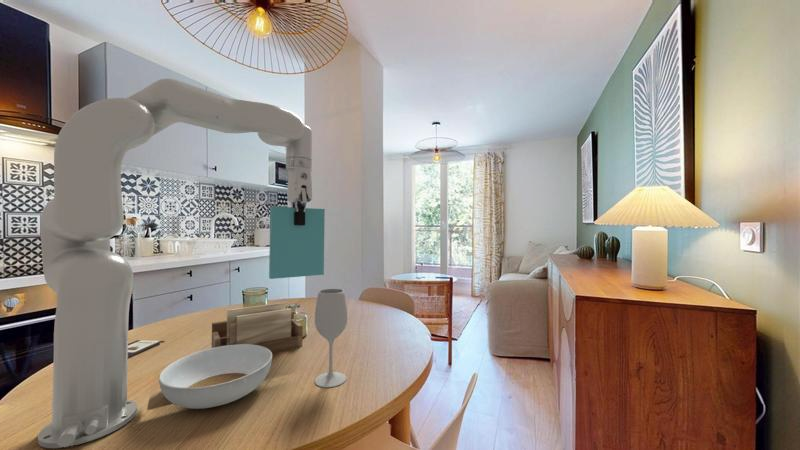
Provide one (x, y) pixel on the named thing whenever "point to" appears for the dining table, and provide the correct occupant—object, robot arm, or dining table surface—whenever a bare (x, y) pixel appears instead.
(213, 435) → the dining table surface
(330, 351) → the wineglass
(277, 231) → the teal board
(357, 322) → the dining table surface
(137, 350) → the chocolate bar
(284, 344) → the walnut rack
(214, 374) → the serving bowl
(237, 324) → the plywood offcuts
